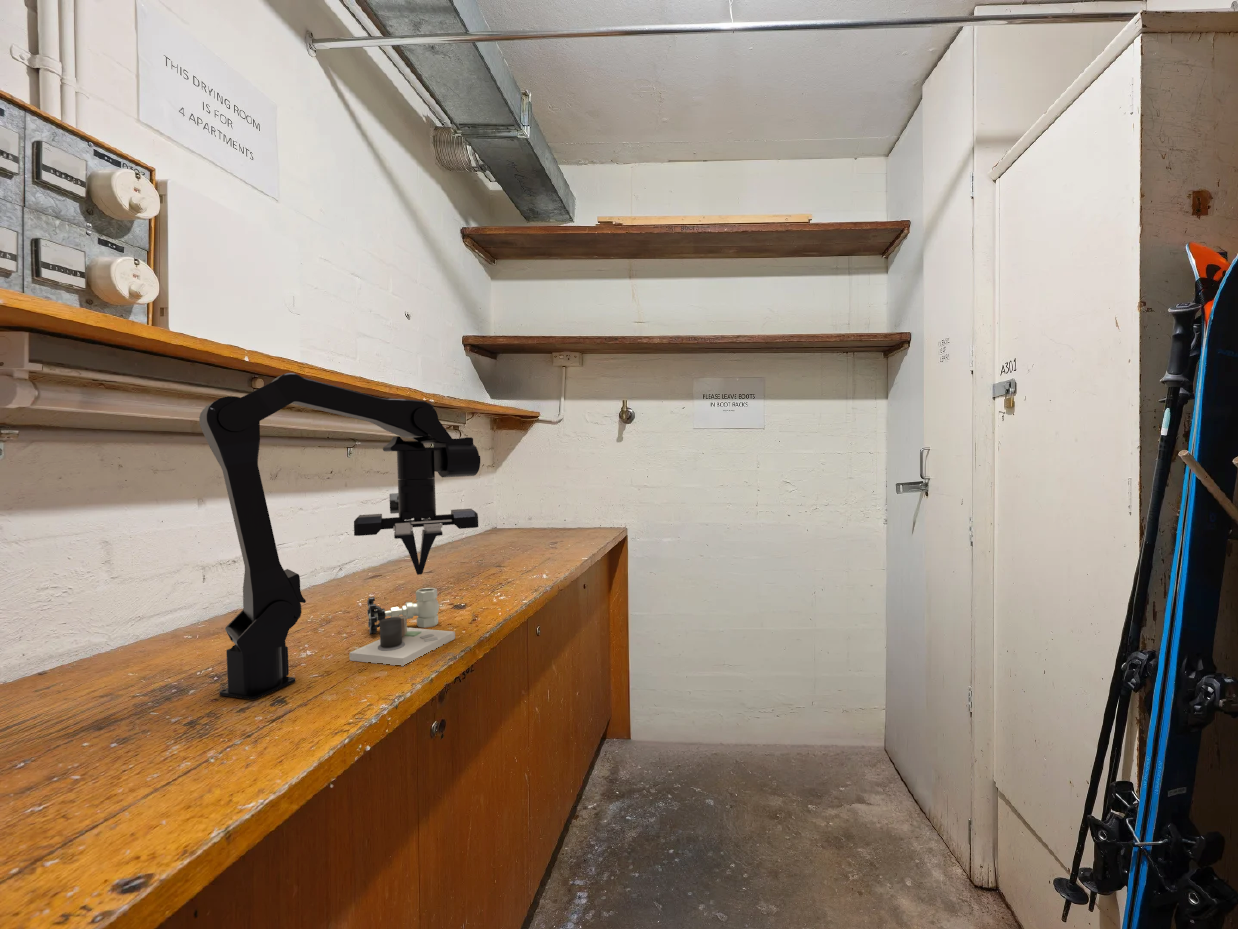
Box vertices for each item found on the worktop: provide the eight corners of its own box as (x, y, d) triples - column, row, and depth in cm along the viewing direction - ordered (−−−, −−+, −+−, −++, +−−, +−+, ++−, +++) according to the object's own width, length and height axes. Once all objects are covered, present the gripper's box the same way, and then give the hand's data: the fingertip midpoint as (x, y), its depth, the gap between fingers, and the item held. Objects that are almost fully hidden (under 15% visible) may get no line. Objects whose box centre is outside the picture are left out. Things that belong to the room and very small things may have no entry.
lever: (399, 646, 88) (398, 622, 88) (377, 648, 88) (376, 623, 88) (410, 632, 95) (409, 609, 95) (391, 633, 95) (390, 610, 95)
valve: (435, 619, 109) (368, 630, 103) (434, 585, 109) (366, 594, 103) (443, 627, 103) (371, 639, 97) (441, 591, 103) (370, 601, 97)
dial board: (403, 666, 84) (402, 657, 84) (349, 660, 87) (349, 651, 87) (455, 638, 96) (454, 630, 96) (406, 634, 100) (406, 626, 99)
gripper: (469, 475, 103) (472, 560, 104) (357, 479, 97) (360, 570, 97) (477, 477, 93) (480, 572, 93) (352, 482, 86) (355, 584, 86)
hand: (419, 574), depth 93 cm, fingers closed
